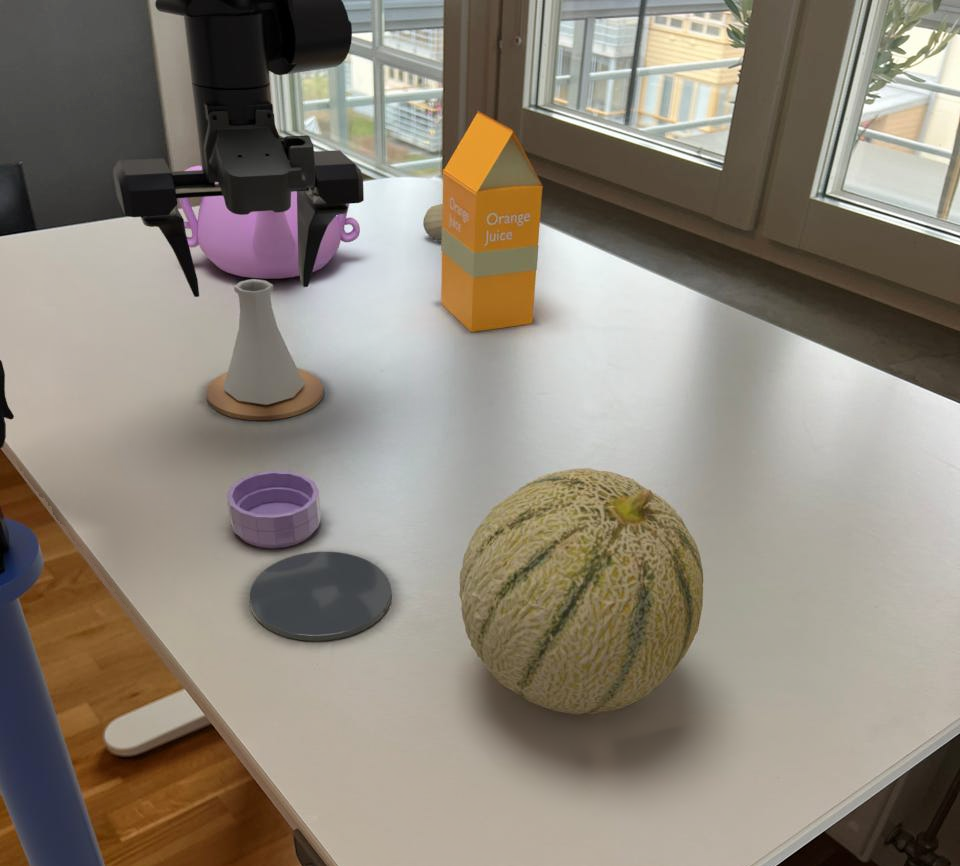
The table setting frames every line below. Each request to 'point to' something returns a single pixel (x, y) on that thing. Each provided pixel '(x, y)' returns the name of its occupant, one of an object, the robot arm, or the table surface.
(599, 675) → the cantaloupe
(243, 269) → the teapot
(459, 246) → the orange juice
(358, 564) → the slate coaster
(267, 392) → the flask
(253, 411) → the cork coaster
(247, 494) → the dish
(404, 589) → the table surface
